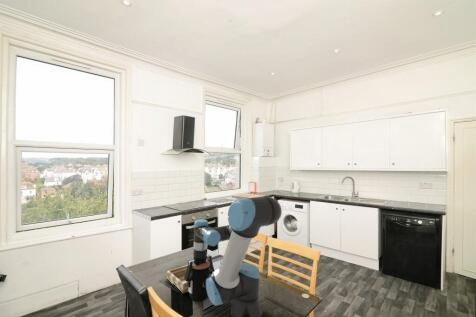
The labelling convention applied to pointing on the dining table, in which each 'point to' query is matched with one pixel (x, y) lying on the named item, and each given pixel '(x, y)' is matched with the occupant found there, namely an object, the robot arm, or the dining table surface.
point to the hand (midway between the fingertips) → (199, 288)
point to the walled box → (178, 278)
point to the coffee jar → (200, 281)
